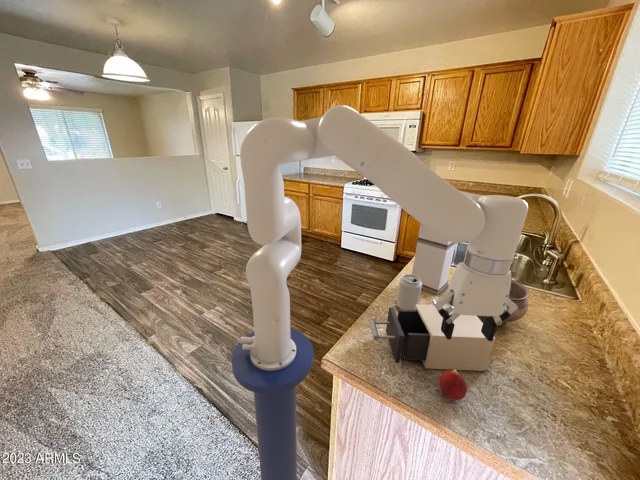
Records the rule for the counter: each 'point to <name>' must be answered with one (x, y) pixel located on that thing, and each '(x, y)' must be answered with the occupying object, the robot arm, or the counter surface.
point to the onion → (452, 385)
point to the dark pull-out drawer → (404, 334)
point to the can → (409, 292)
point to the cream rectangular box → (455, 342)
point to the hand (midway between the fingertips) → (466, 335)
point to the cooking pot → (517, 300)
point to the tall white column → (432, 260)
